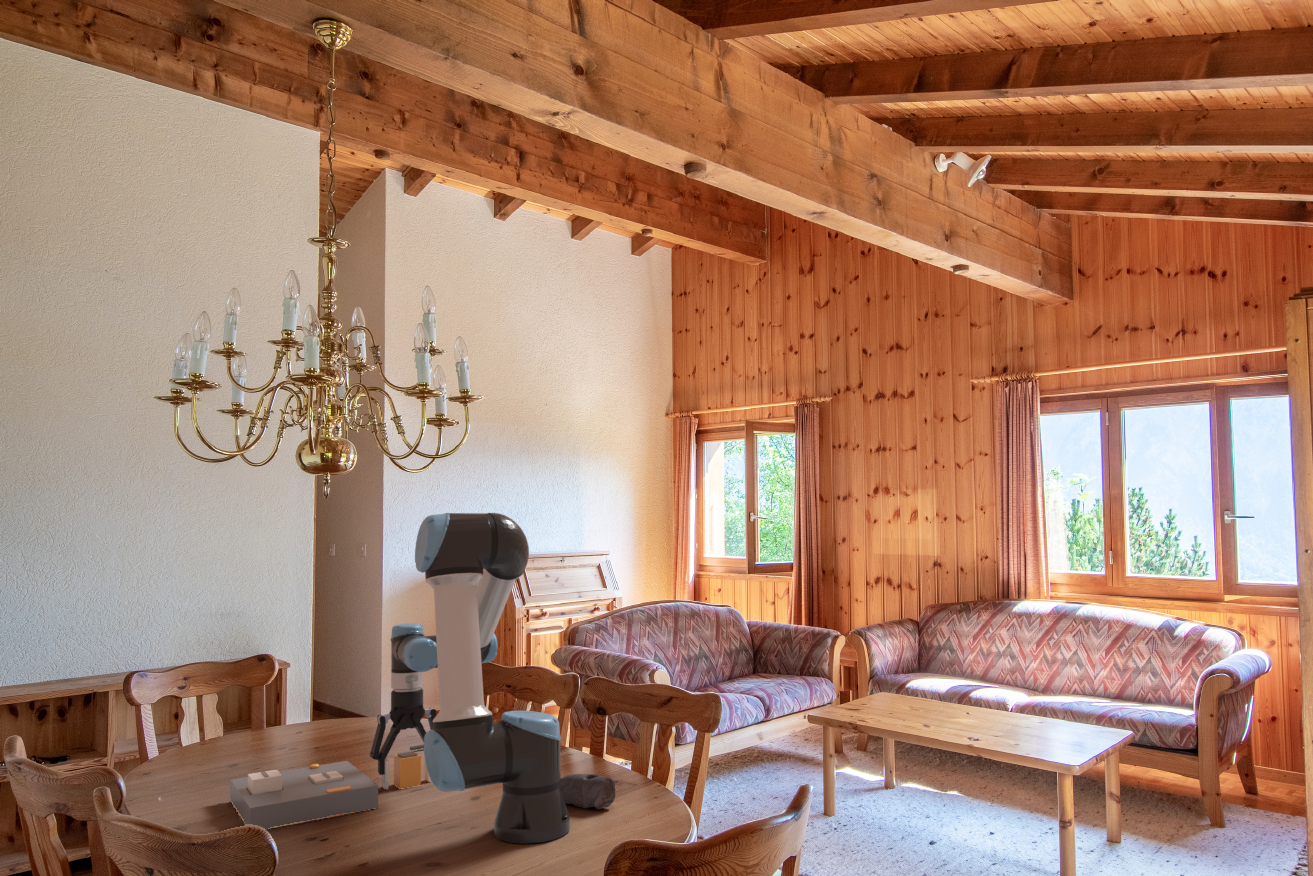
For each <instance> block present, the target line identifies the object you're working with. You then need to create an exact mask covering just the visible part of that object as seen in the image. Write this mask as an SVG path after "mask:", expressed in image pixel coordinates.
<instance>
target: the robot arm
mask: <svg viewBox="0 0 1313 876" xmlns="http://www.w3.org/2000/svg"><path fill="white" fill-rule="evenodd" d="M415 540H416V542H415V549H414V562H415V567H416V570H417V571H418V572H420V573H422V574H423V573H424V575H425V582H426V584H428V585H429V586H430V587H431V588H432V589H433V598H434V599H433V600H434V617H435V618H434V619H435V634H434V635H425V633H424V626H423V625H422V624H421V623H417V622H416V623H415V622H413V623H411V622H409V623H399V624H395V625H393V626H392V628H391V636H390V637H391V638H390V645H391V646H390V649H391V650H390V652H391V653H390V660H391V664H390V665H391V666H390V667H391V670H390V673H391V675H390V688H391V692H390V711H389V713H388V714H383V715H382V714H378V715H377V717H376V718H377V721H376V722H377V727H376V731H375V734H374V738H373V741H372V745H371V749H370V753H369V757H370V758H371V759H373V760H377V773H378V774H379V775H380V776H381V787H382V788H383V790H385V789H386V790H389V788H390V787H389V783H390V782H389V779H390V777H389V773H390V772H389V767H390V764H389V762H390V761H389V760H388V759H387V757H388V755H389V752H390V750H391V748H392V746H393V745H394V743H395V741H396V739H397V737H398V735H399V734H400V733H401V731H405V730H407V729H415V730H416V732H417V733H418V735H419V737H420V738H421V740H422V742H423V744H424V748H423V755H424V780H425V781H426V782H431V783H432V784H433V786H434V787H435V788H436V789H437V790H439V791H440V792H445V793H447V792H455V791H459V792H463V791H465V790H469V789H475V788H481V787H487V786H493V785H498V784H502V793H501V797H500V802H499V804H498V808H497V812H496V815H495V817H494V822H493V835H494V837H496V838H497V839H498V840H500V841H503V842H507V843H511V844H539V843H545V842H548V841H549V842H550V841H553V840H554V841H555V840H557V839H559V838H562V837H563V836H565V835H567V834H568V833H569V831H570V829H571V819H570V814H569V810H568V808H567V807H568V806H567V805H566V804H567V803H565V801H564V798H563V795H562V792H561V778H562V777H561V776H562V775H561V774H562V772H561V740H562V737H561V732H560V730H561V729H560V728H561V727H560V722H559V720H558V719H557V717H555V715H552V714H549V713H545V712H539V711H534V710H533V711H532V710H509V711H505V712H503V713H502V715H501V718H500V720H501V721H494V718H493V717H494V716H493V712H492V711H490V710H489V708H488V707H486V705H485V700H484V699H485V698H484V682H483V666H482V664H486V663H491V662H493V661H494V660H495V659H496V657H497V655H498V638H497V635H496V634H495V632H496V629H497V627H498V624H499V621H500V619H501V617H502V614H503V612H504V610H505V607H506V605H507V602H508V599H509V597H510V594H511V593H512V590H513V587H514V585H515V583H516V580H518V579H519V578H521V577H522V576H523V574H524V572H525V570H526V568H527V567H528V563H529V562H528V561H529V557H530V547H529V542H528V539H527V536H526V535H525V533H524V530H523V529H522V527H521V526H520V525H519V524H518V523H517V522H516V521H515V520H513V519H512V518H510V517H509V516H507V515H505V514H502V513H498V512H486V513H484V512H483V513H478V512H477V513H476V512H475V513H474V512H473V513H472V512H470V513H469V512H467V513H466V512H465V513H464V512H461V513H460V512H459V513H456V512H454V513H453V512H450V513H449V512H446V513H437V514H430V515H428V516H426V517H425V518H424V519H423V520H422V522H421V524H420V526H419V528H418V532H417V536H416V539H415ZM433 669H437V678H438V695H439V696H438V698H439V711H438V713H437V710H436V708H434V707H429V708H425V707H424V689H423V688H422V687H423V686H424V673H425V672H429V671H431V670H433ZM424 716H425V717H426V718H427V721H428V725H429V729H430V730H429V731H426V730H425V727H424V725H423V724H422V721H421V720H422V719H423V718H424ZM389 720H390V721H391V722H392V725H391V727H390V729H389V730H390V731H389V732H388V734H387V736H386V738H385V741H384V742H383V738H384V735H385V731H386V726H387V724H388V723H389ZM382 743H383V745H382Z"/></svg>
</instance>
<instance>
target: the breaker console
mask: <svg viewBox="0 0 1313 876" xmlns="http://www.w3.org/2000/svg"><path fill="white" fill-rule="evenodd" d="M332 771H337V772H339V773H340V774H341V775H342V776H343V780H337V781H331V782H325V783H320V784H313V783H312V782H311V781H310V780H309V775H314V774H320V773H324V772H332ZM279 772H280V774H281V775H282V790H279V791H273V792H267V793H261V794H255V795H251V794H250V793H249V792H248V776H245V777H238V778H233V779H230V784H229V785H230V786H229V787H230V791H229V793H230V794H229V796H230V798H229V800H230V799H231V801H232V802H233V804H234V805H235V807H236V808H237V810H238V811H239V813H240V814H241V816H242V818H243V819H244V822H246V823H245V824H253V825H258V826H261V827H263V828H265V829H267V830H266V831H269V829H268V828H270V827H274V826H280V825H284V824H290V823H294V822H300V821H307V820H312V819H317V818H322V817H327V816H330V815H336V814H342V813H350V812H357V811H363V810H368V809H373V808H378V809H379V785H378V784H377V783H376V782H374V781H373V780H372V779H371V778H369V777H368V776H367V775H366V774H365V773H363V772H362V771H361V770H359V769H358V768H357V767H356V766H354V765H353V764H352V763H351V762H350V761H348V760H343V761H338V762H337V761H335V762H332V763H326V764H319V763H313V764H310V765H309V766H307V767H301V768H293V769H288V770H282V771H279Z"/></svg>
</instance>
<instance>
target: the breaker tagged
mask: <svg viewBox="0 0 1313 876" xmlns="http://www.w3.org/2000/svg"><path fill="white" fill-rule="evenodd" d="M309 780H310V781H311V782H312V783H313V784H320V783H325V782H331V781H337V780H343V776H342V775H341V774H340V773H339V772H337V771H332V772H324V773H320V774H314V775H309Z"/></svg>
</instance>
